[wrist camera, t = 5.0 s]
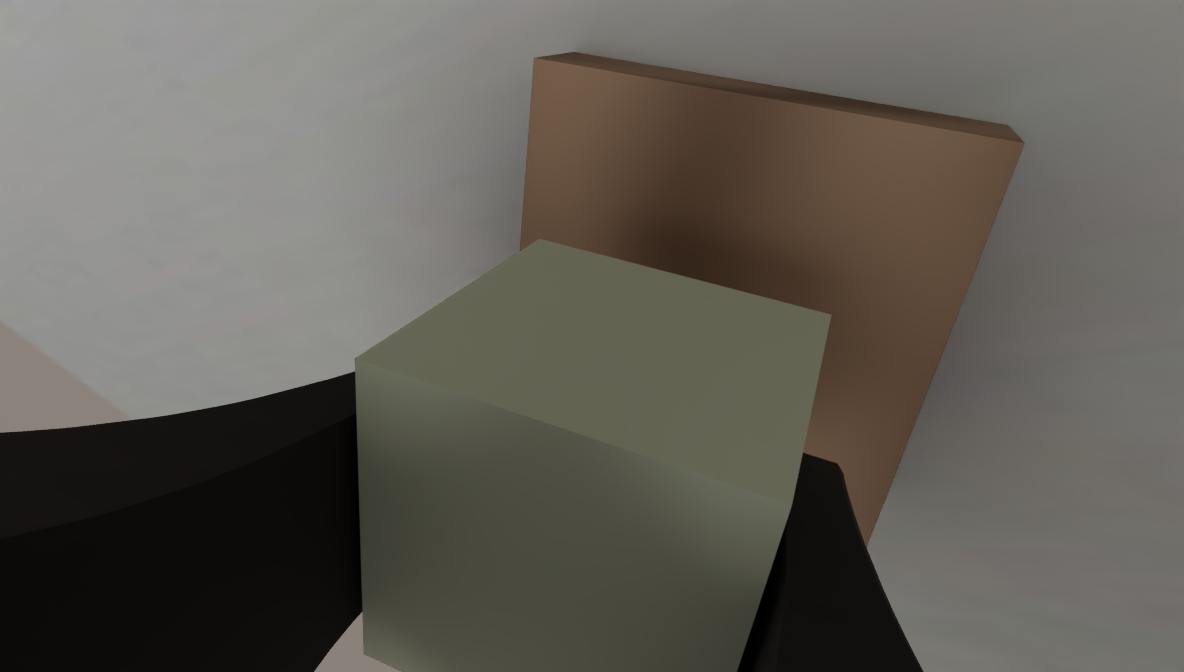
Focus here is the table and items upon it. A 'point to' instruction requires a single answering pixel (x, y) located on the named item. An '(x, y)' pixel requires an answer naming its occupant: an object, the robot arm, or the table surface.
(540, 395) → the sage cube
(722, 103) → the walnut base block
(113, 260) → the table surface
